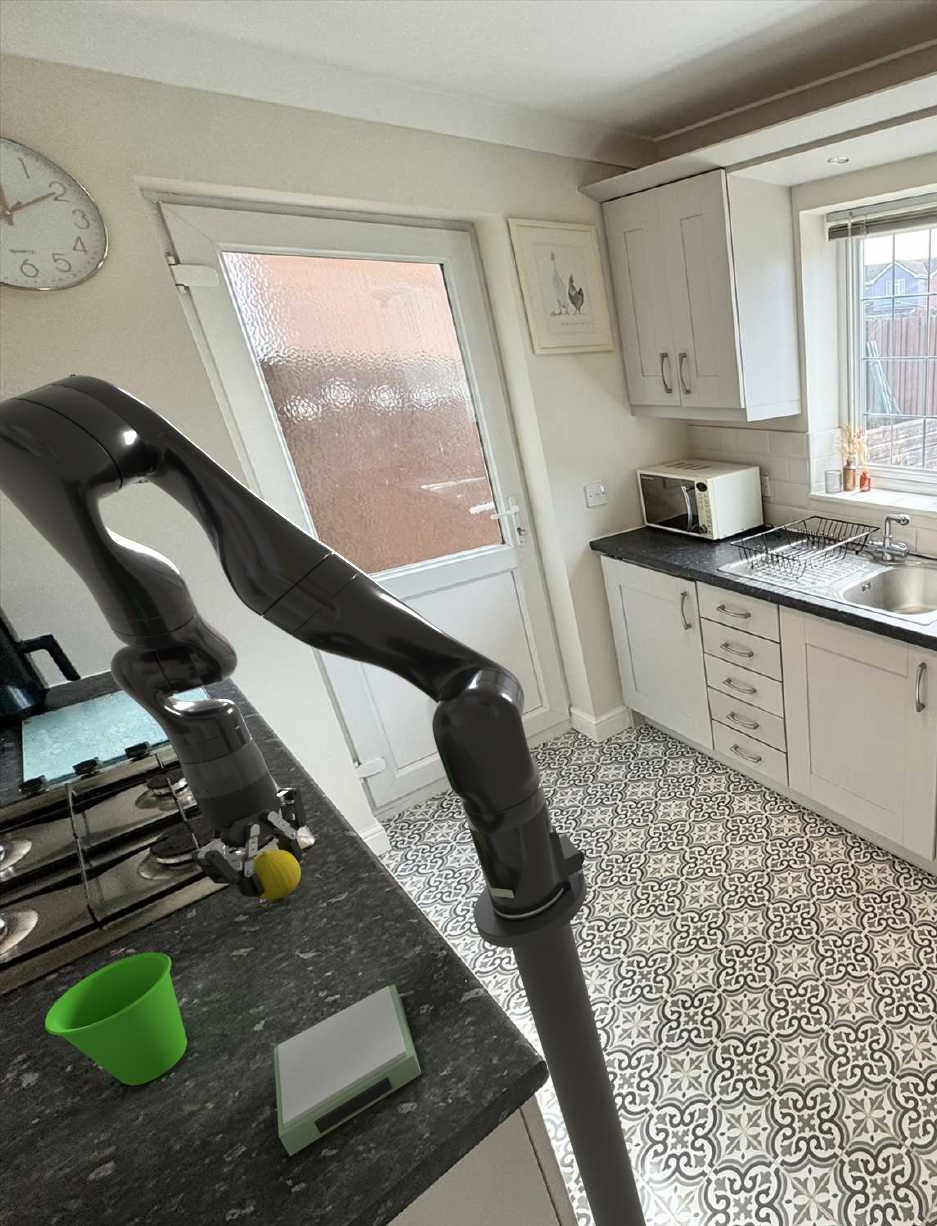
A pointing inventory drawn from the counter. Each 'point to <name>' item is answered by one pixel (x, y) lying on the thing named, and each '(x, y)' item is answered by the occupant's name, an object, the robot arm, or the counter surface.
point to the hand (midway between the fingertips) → (275, 877)
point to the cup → (124, 1018)
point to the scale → (342, 1067)
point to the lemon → (277, 873)
